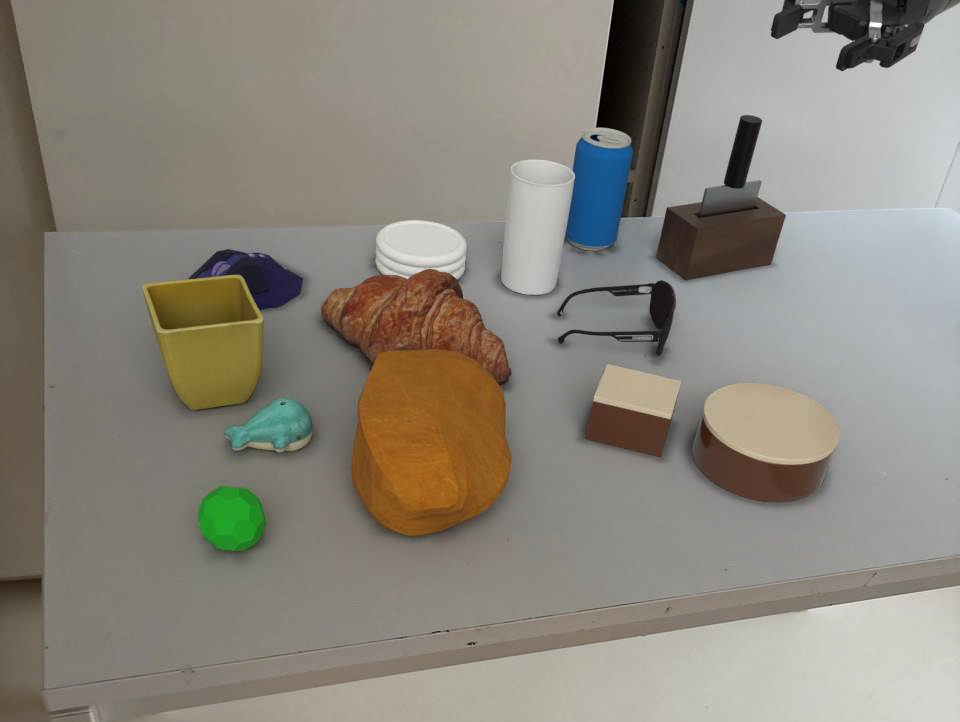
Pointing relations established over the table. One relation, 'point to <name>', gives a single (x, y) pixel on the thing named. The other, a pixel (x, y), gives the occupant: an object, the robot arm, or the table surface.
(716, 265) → the knife block
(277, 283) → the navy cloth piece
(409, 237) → the coaster
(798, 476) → the cake
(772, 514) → the table surface
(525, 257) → the mug
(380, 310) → the pastry
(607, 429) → the cake slice
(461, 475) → the bread
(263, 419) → the whale figurine
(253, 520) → the polyhedron
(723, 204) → the knife
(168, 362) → the flower pot
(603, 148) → the beverage can
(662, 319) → the sunglasses
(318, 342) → the table surface
